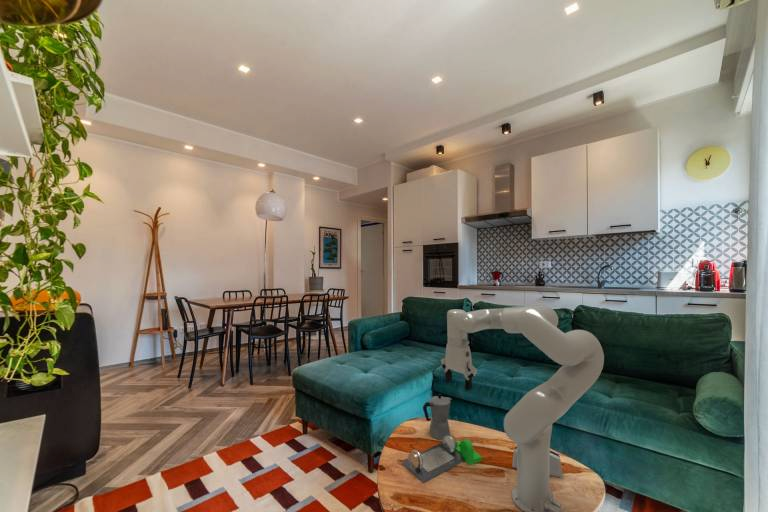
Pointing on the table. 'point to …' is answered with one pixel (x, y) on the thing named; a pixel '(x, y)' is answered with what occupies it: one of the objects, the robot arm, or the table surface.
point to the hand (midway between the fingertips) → (458, 385)
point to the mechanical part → (468, 452)
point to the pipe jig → (434, 459)
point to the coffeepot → (438, 416)
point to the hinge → (554, 463)
